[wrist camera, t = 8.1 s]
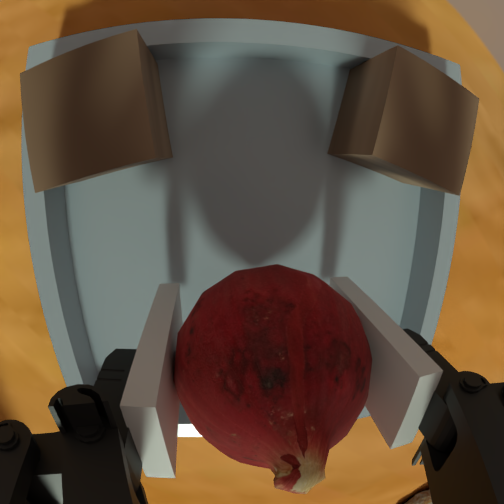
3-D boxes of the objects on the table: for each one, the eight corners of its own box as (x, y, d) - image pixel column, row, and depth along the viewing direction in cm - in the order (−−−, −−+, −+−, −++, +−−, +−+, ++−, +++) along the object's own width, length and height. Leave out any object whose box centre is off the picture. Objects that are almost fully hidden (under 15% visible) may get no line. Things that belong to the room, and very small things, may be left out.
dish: (95, 400, 16) (85, 429, 13) (54, 60, 10) (28, 47, 8) (392, 381, 18) (410, 405, 15) (429, 72, 13) (459, 64, 10)
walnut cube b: (327, 153, 13) (372, 154, 9) (349, 69, 12) (397, 44, 8) (402, 183, 13) (459, 196, 10) (421, 105, 12) (479, 98, 9)
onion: (167, 253, 12) (106, 411, 4) (319, 225, 12) (460, 332, 4) (201, 377, 13) (204, 542, 6) (328, 351, 14) (407, 494, 6)
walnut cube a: (81, 181, 12) (35, 193, 8) (68, 91, 10) (20, 73, 7) (173, 157, 12) (155, 158, 8) (157, 64, 11) (137, 28, 7)
